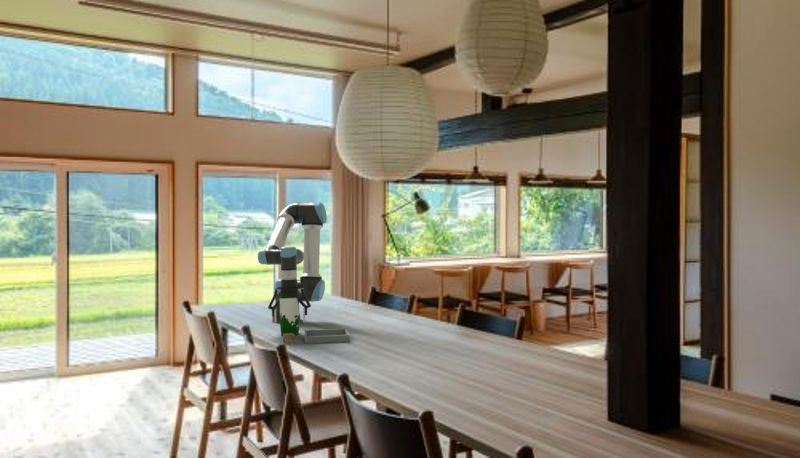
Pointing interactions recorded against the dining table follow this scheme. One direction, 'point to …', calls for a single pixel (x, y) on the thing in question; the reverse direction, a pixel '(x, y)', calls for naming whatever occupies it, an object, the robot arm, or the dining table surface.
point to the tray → (326, 336)
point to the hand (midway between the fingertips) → (289, 322)
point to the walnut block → (289, 338)
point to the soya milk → (289, 315)
